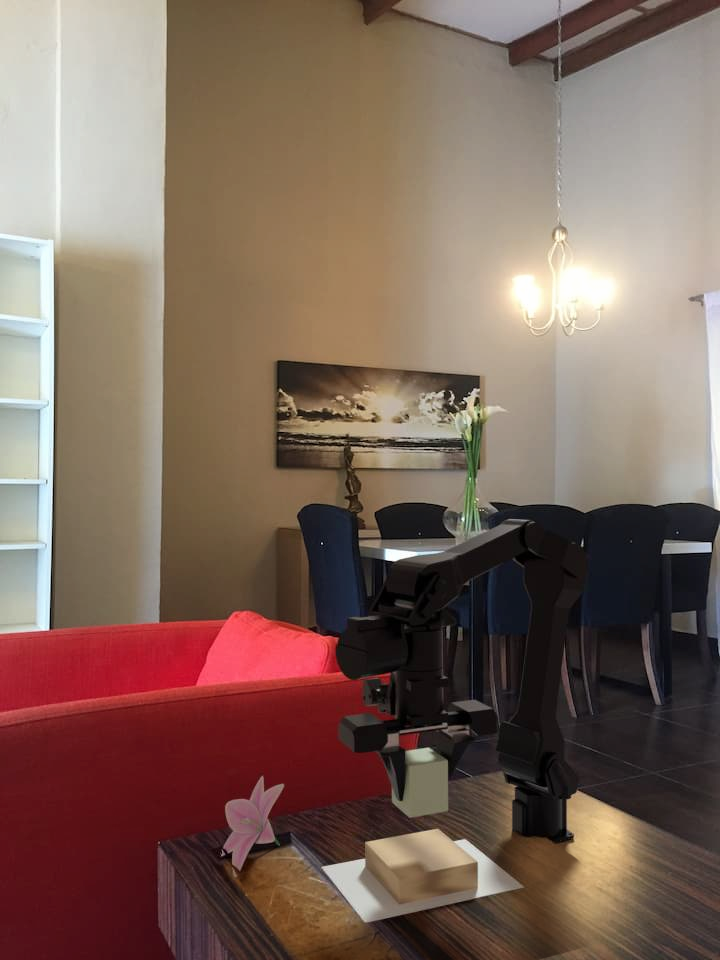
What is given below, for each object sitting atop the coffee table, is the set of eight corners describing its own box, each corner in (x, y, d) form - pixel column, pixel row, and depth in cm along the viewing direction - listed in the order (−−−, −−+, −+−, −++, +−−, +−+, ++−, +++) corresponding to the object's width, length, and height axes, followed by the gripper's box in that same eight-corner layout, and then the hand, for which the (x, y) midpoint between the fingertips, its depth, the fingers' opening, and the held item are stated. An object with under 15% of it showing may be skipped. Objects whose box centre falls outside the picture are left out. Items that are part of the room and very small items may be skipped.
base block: (438, 852, 110) (438, 828, 110) (477, 887, 101) (477, 861, 101) (365, 866, 107) (365, 842, 107) (399, 904, 97) (399, 877, 97)
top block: (429, 796, 107) (428, 747, 107) (448, 811, 102) (447, 760, 102) (391, 802, 105) (391, 753, 105) (409, 817, 101) (409, 766, 100)
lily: (231, 841, 118) (200, 789, 115) (310, 807, 118) (281, 754, 115) (230, 911, 107) (196, 856, 104) (318, 873, 107) (286, 817, 104)
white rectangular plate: (465, 845, 114) (465, 839, 114) (524, 893, 101) (524, 886, 101) (321, 873, 107) (321, 866, 107) (365, 929, 94) (365, 922, 94)
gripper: (455, 646, 114) (456, 764, 115) (321, 659, 107) (323, 785, 108) (500, 664, 104) (501, 793, 104) (355, 680, 97) (356, 819, 97)
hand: (419, 796), depth 104 cm, fingers closed on top block, 5 cm apart
